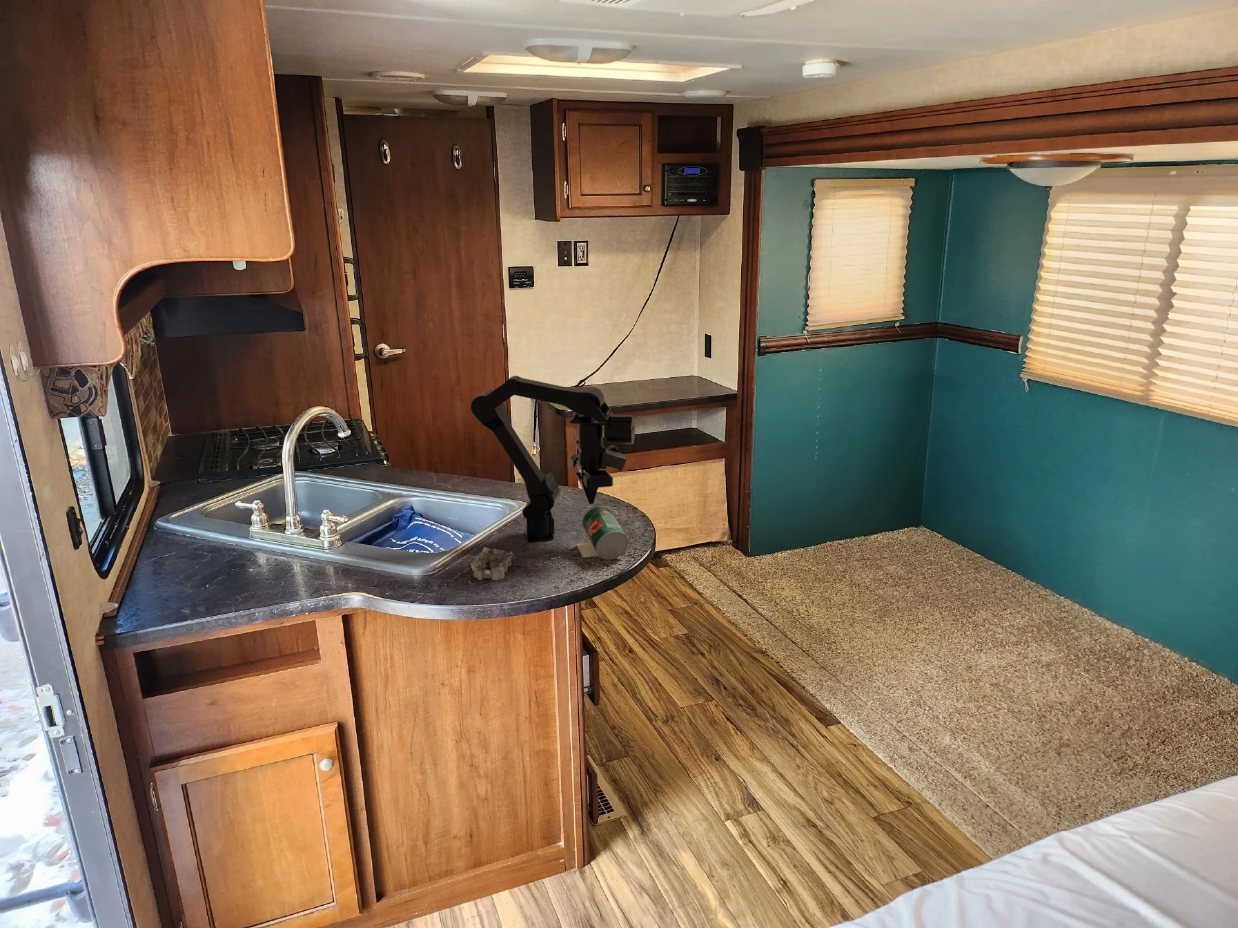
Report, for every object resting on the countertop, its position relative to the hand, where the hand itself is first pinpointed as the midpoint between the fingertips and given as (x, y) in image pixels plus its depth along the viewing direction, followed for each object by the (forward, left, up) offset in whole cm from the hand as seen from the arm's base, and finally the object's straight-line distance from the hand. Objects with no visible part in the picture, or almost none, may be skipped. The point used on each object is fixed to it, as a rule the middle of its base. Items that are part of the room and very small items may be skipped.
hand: (591, 503), depth 201 cm
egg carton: (-25, -12, -10) cm, 30 cm away
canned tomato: (+1, -2, -3) cm, 4 cm away
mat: (0, -6, -10) cm, 11 cm away
